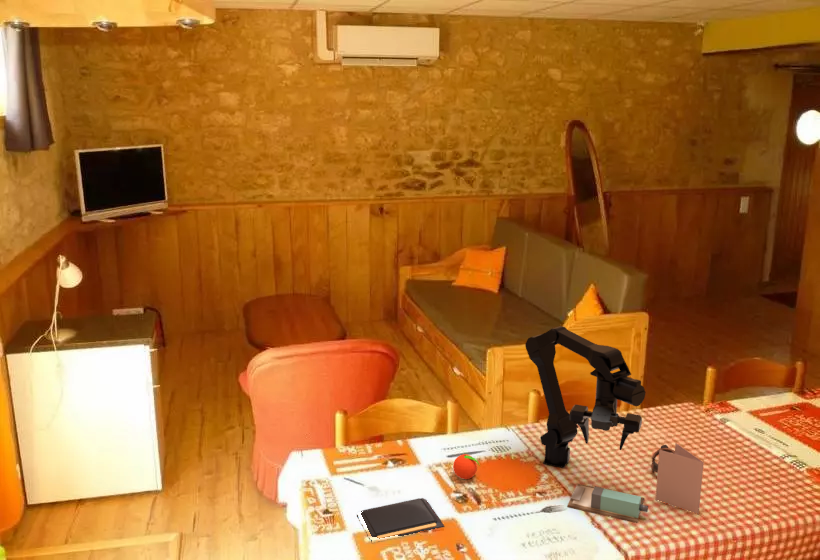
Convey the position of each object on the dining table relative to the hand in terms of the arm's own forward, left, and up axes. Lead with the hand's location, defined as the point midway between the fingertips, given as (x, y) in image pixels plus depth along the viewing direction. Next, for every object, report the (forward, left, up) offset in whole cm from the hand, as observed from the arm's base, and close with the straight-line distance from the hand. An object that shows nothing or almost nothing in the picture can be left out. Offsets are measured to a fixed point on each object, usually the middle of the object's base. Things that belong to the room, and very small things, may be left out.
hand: (603, 446), depth 198 cm
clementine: (-36, -12, -12) cm, 40 cm away
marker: (+6, -12, -11) cm, 17 cm away
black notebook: (-44, -39, -13) cm, 60 cm away
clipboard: (+3, -9, -12) cm, 15 cm away
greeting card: (+20, -2, -12) cm, 24 cm away
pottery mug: (+16, +16, -12) cm, 26 cm away
